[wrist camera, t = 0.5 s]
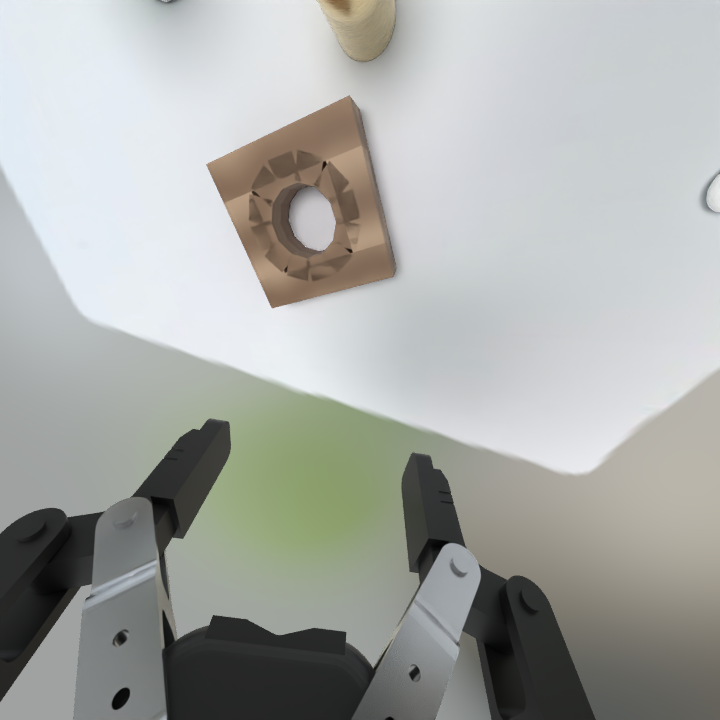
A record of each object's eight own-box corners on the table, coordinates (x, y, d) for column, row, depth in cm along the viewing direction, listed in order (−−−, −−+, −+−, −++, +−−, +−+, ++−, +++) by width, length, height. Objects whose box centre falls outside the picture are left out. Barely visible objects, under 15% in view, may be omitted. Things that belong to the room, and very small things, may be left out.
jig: (231, 168, 29) (206, 164, 25) (359, 109, 25) (349, 95, 21) (286, 297, 35) (271, 308, 32) (396, 267, 31) (393, 276, 27)
